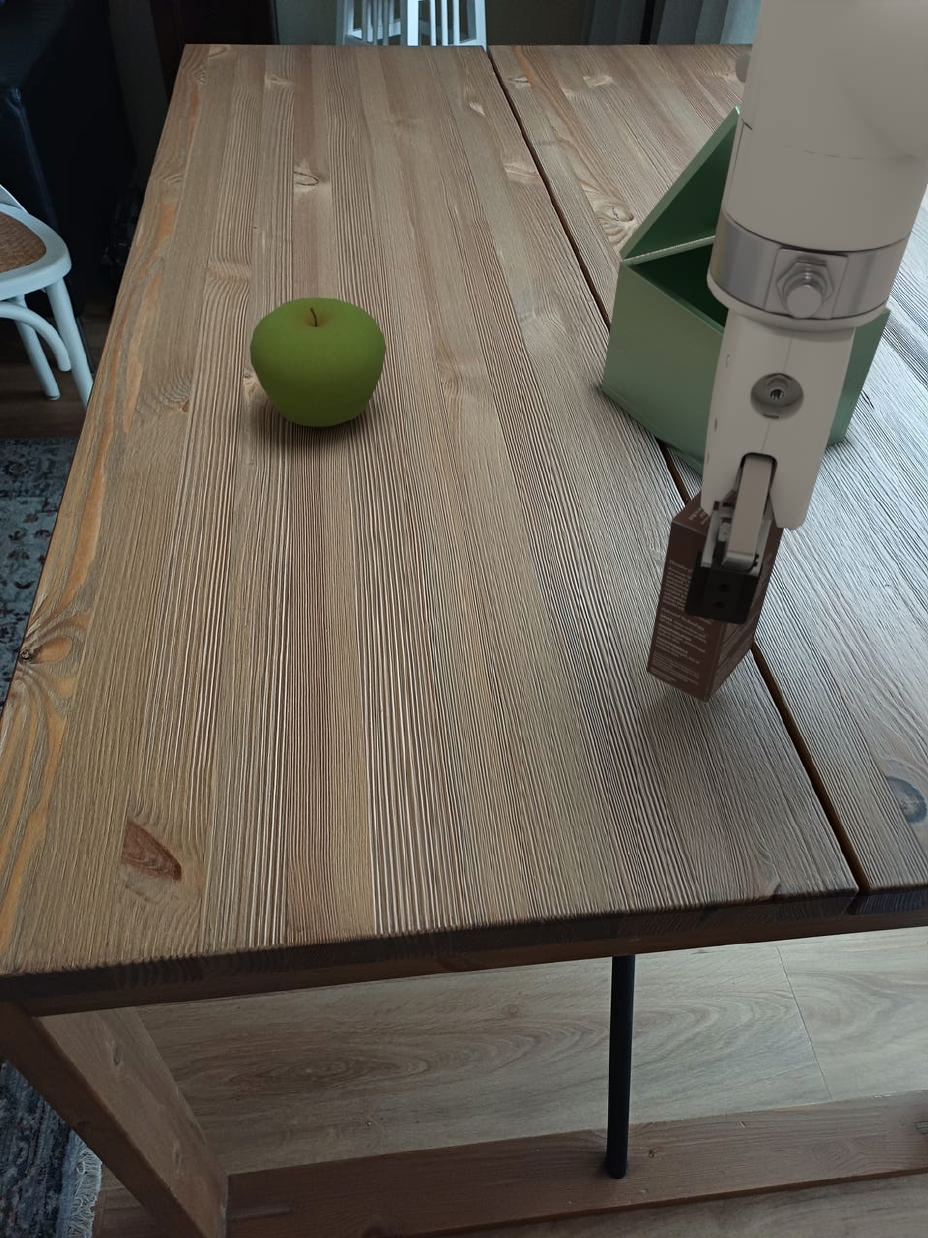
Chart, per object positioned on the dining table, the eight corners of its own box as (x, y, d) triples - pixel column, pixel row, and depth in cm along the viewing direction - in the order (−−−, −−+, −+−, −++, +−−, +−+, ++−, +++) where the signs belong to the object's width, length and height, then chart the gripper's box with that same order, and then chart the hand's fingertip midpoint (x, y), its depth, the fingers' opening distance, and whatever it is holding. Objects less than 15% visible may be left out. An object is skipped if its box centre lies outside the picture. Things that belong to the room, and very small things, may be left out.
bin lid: (893, 83, 66) (859, 14, 67) (740, 116, 61) (704, 41, 62) (754, 225, 81) (727, 168, 82) (622, 260, 77) (594, 199, 77)
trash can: (843, 440, 81) (891, 310, 73) (716, 489, 76) (752, 356, 68) (721, 351, 90) (751, 226, 82) (601, 390, 85) (619, 261, 77)
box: (687, 616, 62) (725, 461, 53) (752, 649, 60) (802, 494, 51) (636, 672, 58) (668, 516, 50) (703, 709, 56) (749, 554, 48)
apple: (298, 470, 77) (284, 359, 70) (237, 407, 82) (218, 297, 75) (413, 425, 81) (411, 315, 74) (347, 367, 87) (339, 261, 80)
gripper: (907, 378, 34) (784, 700, 47) (891, 183, 46) (795, 484, 59) (692, 347, 36) (628, 669, 48) (729, 165, 47) (670, 463, 60)
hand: (720, 565), depth 53 cm, fingers closed on box, 7 cm apart
